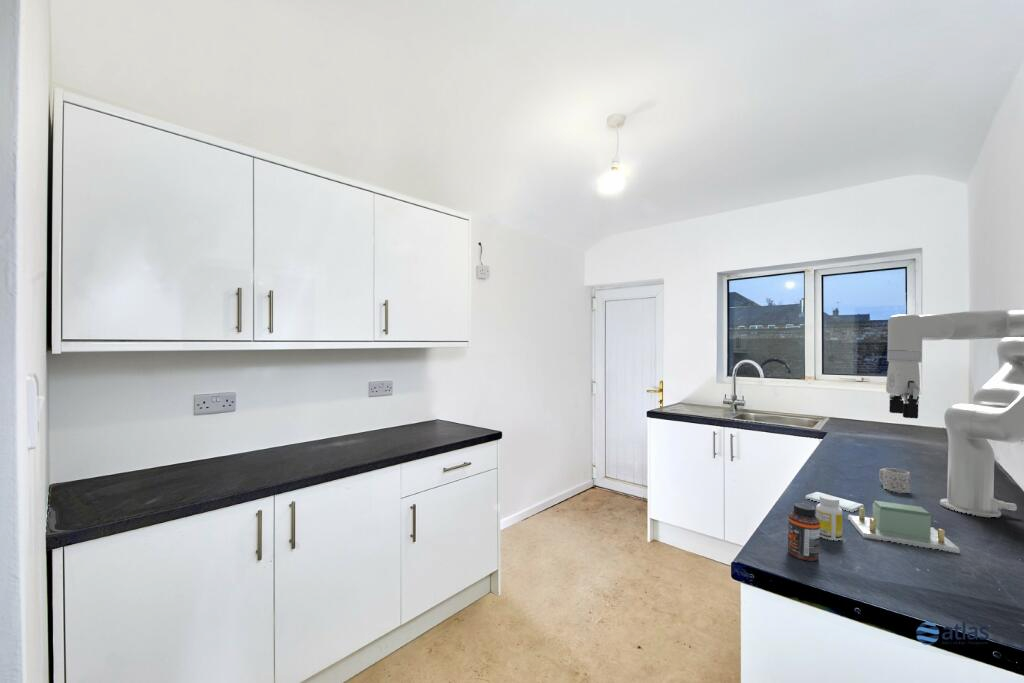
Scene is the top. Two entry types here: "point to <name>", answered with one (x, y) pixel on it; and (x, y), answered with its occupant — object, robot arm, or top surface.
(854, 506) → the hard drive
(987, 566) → the top surface
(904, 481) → the mug
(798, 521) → the supplement bottle
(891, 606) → the top surface
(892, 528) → the block
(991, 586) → the top surface
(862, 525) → the plate
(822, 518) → the supplement bottle
